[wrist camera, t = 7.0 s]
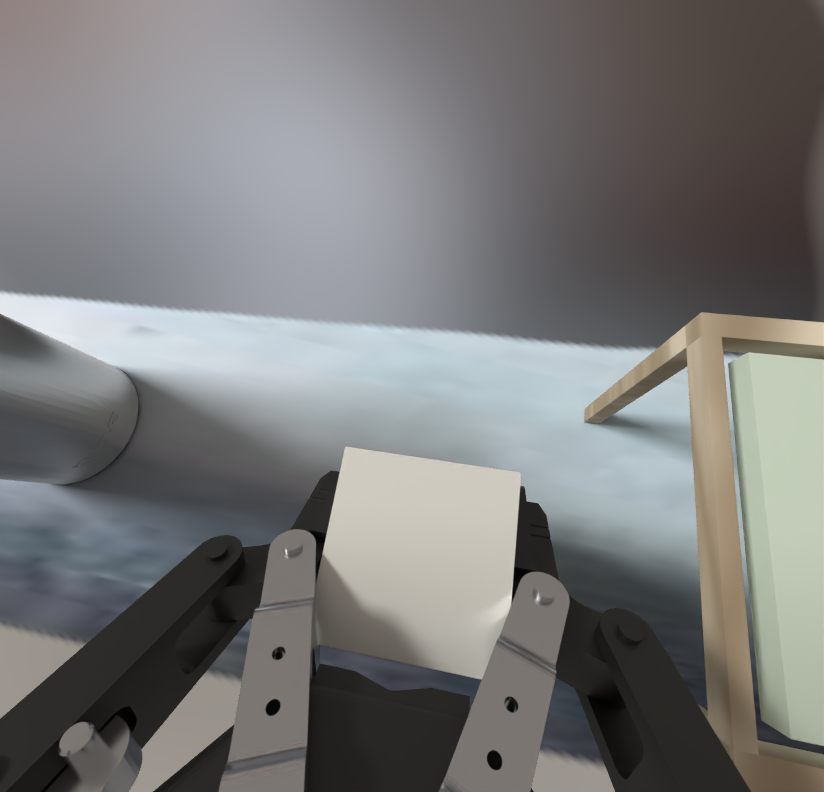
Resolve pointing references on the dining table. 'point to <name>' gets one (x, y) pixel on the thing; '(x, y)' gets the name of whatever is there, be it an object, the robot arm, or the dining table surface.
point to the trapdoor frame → (725, 526)
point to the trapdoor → (784, 532)
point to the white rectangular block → (418, 560)
